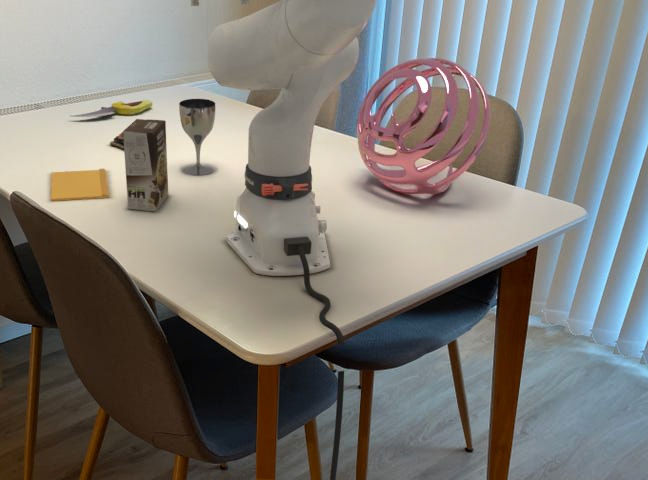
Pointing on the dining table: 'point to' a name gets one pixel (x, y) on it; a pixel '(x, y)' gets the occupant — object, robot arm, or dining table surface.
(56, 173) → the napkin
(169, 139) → the dining table surface
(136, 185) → the coffee box
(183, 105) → the wine glass
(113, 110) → the knife
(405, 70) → the spiral basket
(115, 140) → the open sandwich
